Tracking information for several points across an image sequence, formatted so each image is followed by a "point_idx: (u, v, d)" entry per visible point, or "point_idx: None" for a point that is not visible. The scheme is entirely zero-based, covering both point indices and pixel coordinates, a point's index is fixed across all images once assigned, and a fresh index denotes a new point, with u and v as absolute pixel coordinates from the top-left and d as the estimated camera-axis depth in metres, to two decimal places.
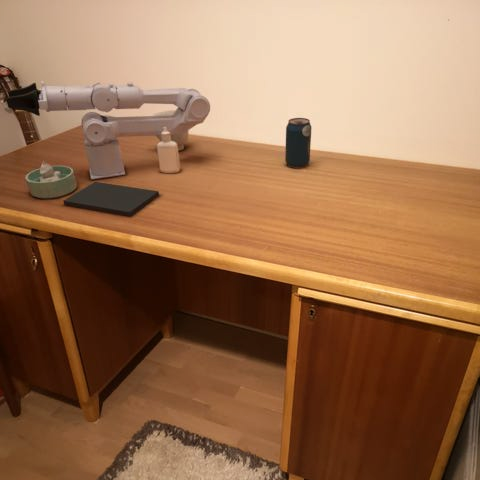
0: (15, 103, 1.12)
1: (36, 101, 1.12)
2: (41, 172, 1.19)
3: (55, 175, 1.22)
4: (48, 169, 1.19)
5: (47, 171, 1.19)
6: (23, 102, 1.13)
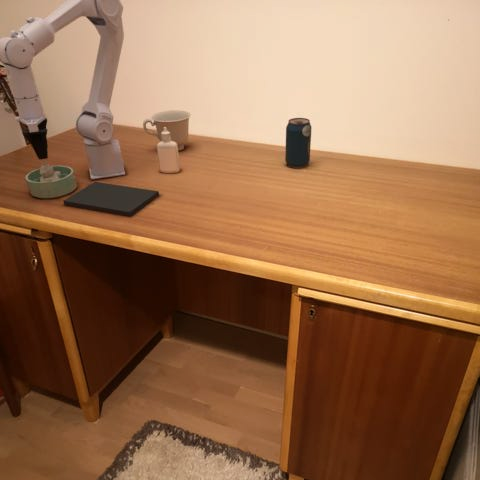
0: (41, 151, 1.14)
1: (32, 133, 1.09)
2: (41, 172, 1.19)
3: (55, 175, 1.22)
4: (48, 169, 1.19)
5: (47, 171, 1.19)
6: (38, 144, 1.13)
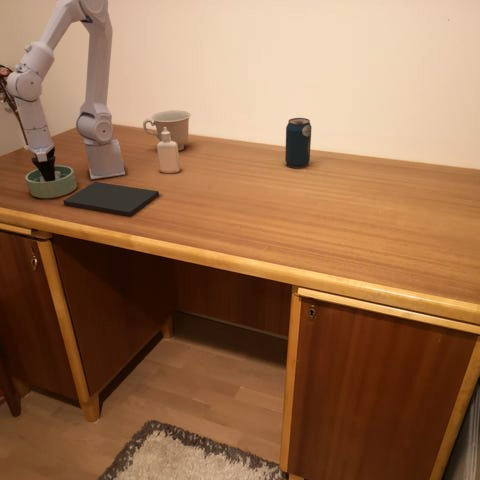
0: (49, 177, 1.19)
1: (40, 161, 1.14)
2: None
3: (55, 175, 1.22)
4: None
5: None
6: (46, 170, 1.18)
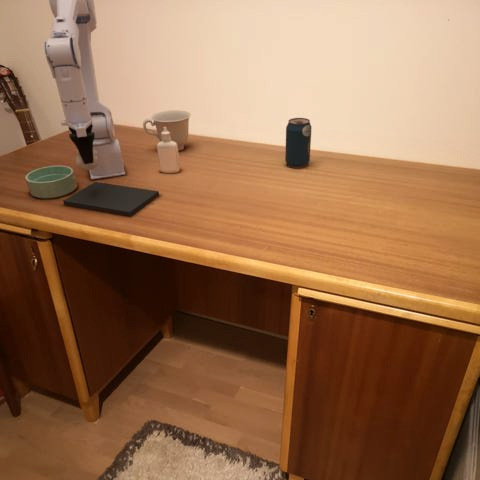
0: (87, 155, 1.09)
1: (79, 136, 1.05)
2: None
3: None
4: None
5: None
6: (84, 148, 1.08)
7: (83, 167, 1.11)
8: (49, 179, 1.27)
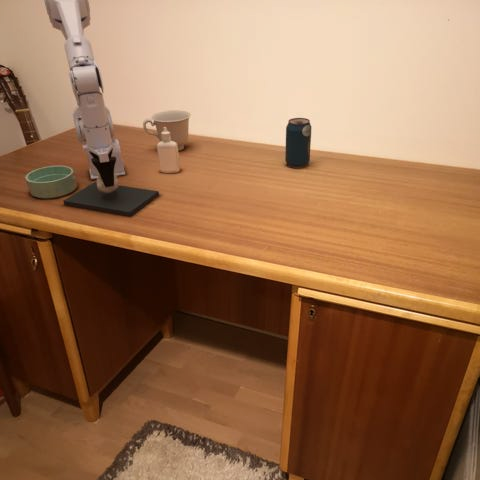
0: (108, 179, 1.11)
1: (101, 161, 1.06)
2: None
3: None
4: None
5: None
6: (106, 171, 1.10)
7: (104, 190, 1.13)
8: (49, 179, 1.27)
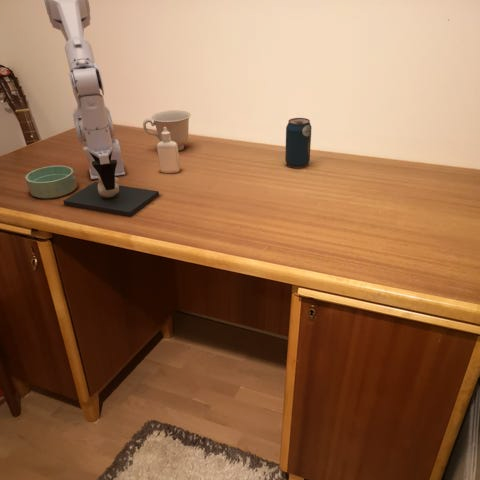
0: (109, 182, 1.11)
1: (102, 164, 1.06)
2: (100, 178, 1.12)
3: None
4: None
5: None
6: (106, 175, 1.09)
7: (105, 195, 1.14)
8: (49, 179, 1.27)
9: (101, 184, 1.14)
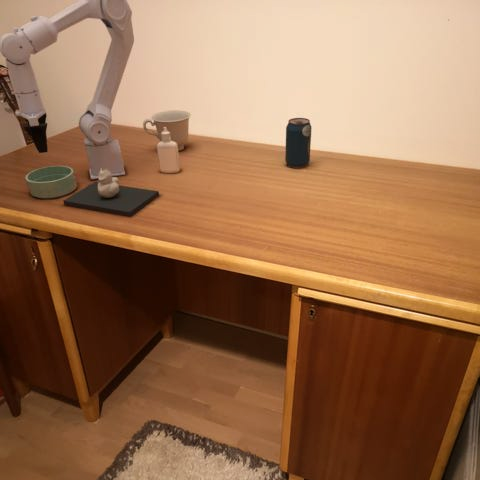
0: (41, 145, 1.17)
1: (32, 127, 1.12)
2: (100, 178, 1.12)
3: (113, 181, 1.15)
4: (107, 175, 1.12)
5: (106, 178, 1.12)
6: (38, 137, 1.16)
7: (105, 195, 1.14)
8: (49, 179, 1.27)
9: (101, 184, 1.14)
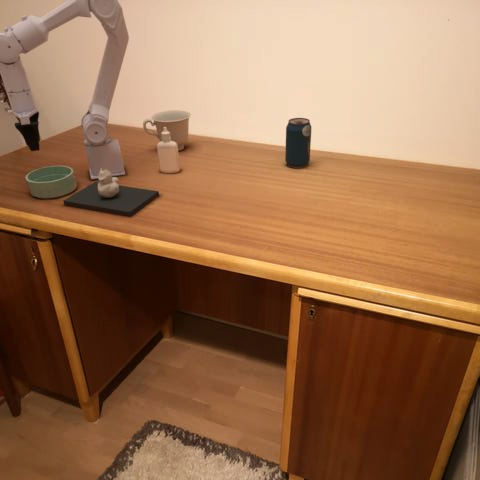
0: (33, 143, 1.19)
1: (23, 125, 1.14)
2: (100, 178, 1.12)
3: (113, 181, 1.15)
4: (107, 175, 1.12)
5: (106, 178, 1.12)
6: (30, 136, 1.17)
7: (105, 195, 1.14)
8: (49, 179, 1.27)
9: (101, 184, 1.14)
